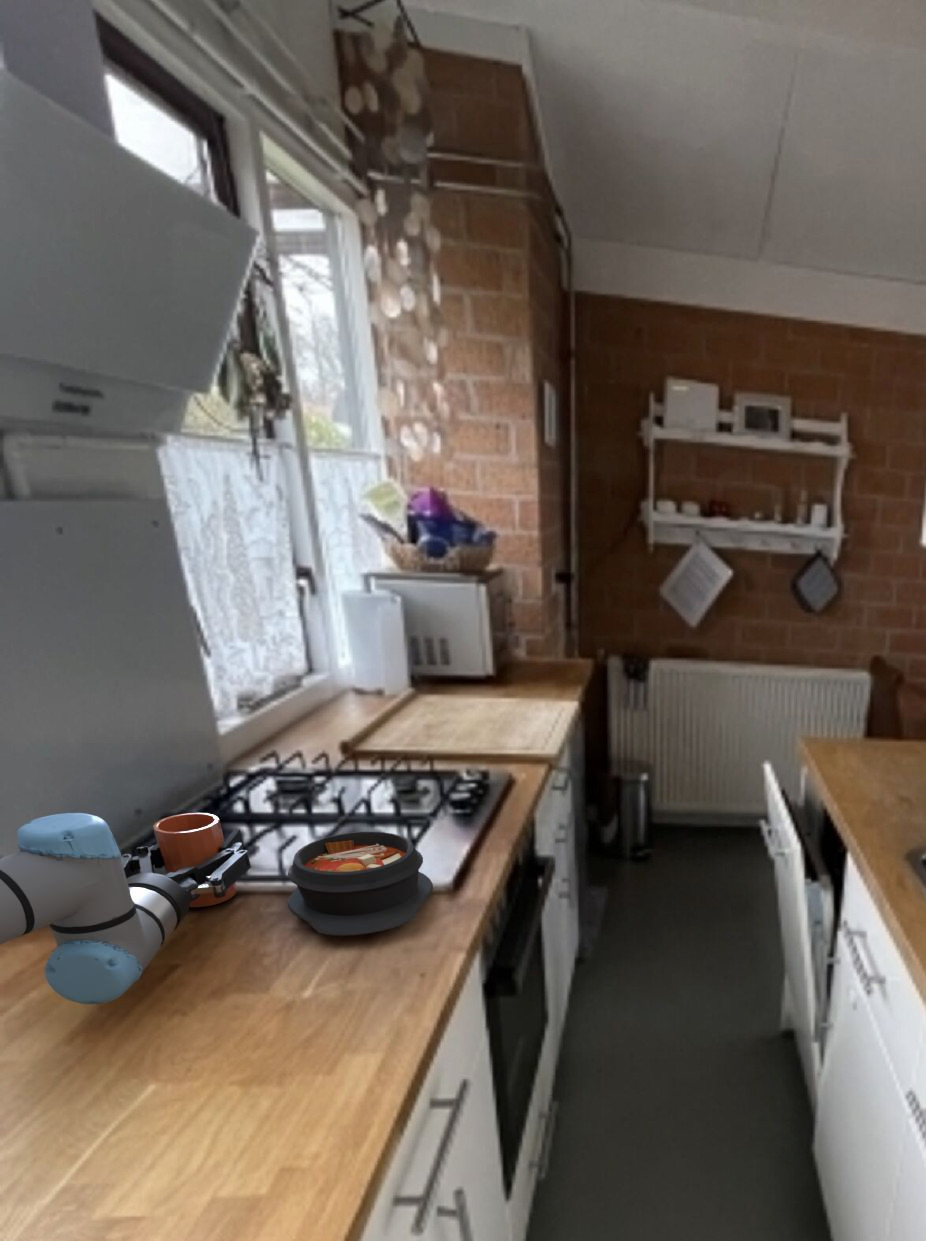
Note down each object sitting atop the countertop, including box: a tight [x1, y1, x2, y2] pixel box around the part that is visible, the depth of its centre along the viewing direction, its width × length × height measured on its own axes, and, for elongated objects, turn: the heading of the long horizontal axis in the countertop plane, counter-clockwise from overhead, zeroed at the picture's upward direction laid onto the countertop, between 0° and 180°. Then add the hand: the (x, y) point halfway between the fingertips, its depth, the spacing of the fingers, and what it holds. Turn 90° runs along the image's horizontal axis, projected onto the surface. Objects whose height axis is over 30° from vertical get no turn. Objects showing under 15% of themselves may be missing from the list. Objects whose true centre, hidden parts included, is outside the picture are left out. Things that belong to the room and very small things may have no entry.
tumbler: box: [152, 812, 237, 908], centre depth 120 cm, size 7×7×11 cm
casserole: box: [286, 831, 434, 936], centre depth 121 cm, size 25×19×8 cm
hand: (206, 839), depth 123 cm, fingers closed on tumbler, 7 cm apart
